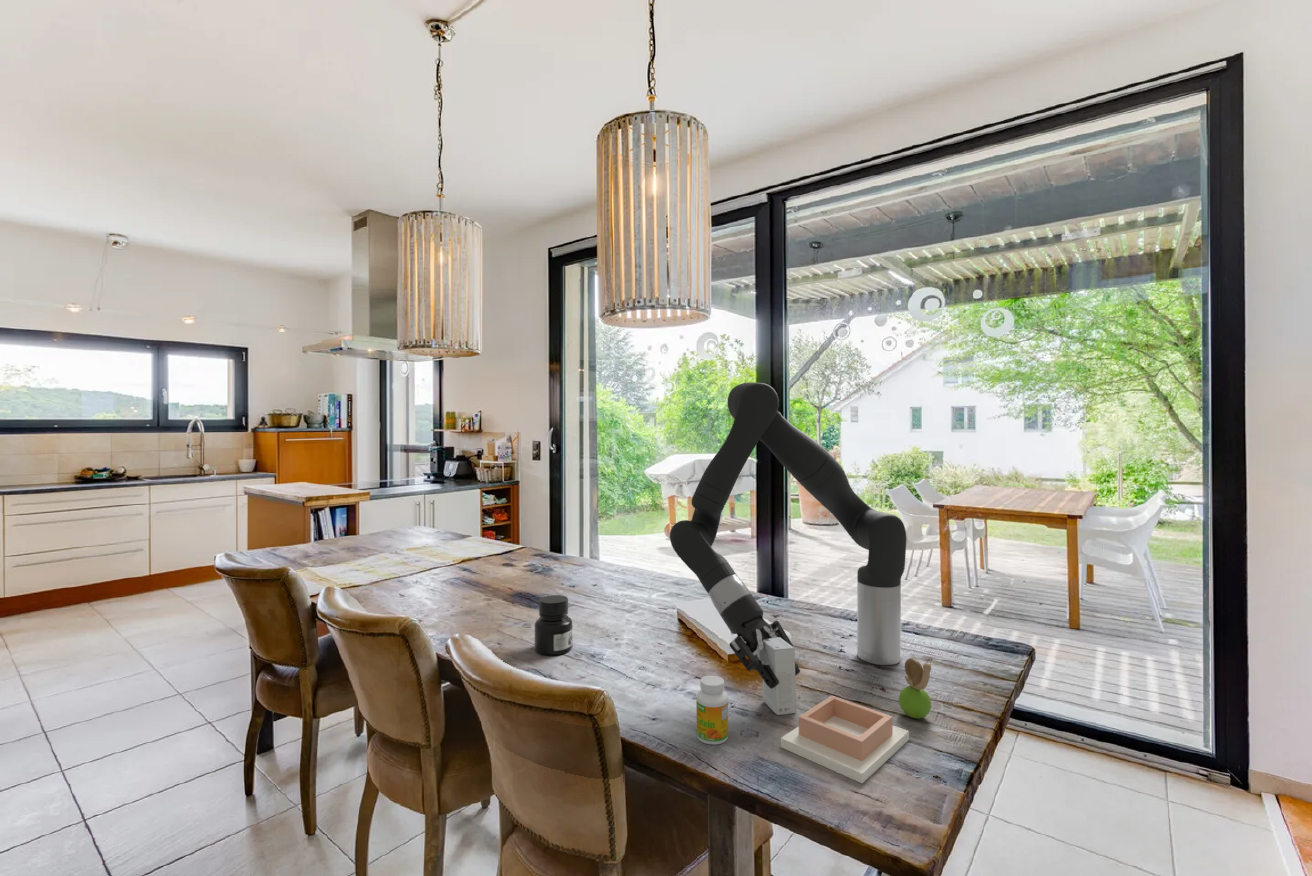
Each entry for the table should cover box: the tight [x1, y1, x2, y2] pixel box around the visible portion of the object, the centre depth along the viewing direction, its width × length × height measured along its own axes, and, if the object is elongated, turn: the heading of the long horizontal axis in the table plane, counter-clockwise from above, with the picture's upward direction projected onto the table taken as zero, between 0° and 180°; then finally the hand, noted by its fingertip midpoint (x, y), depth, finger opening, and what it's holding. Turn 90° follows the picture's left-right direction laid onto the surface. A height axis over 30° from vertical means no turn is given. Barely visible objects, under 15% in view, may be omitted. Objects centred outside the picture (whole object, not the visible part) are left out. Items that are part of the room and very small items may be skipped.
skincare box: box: [762, 637, 797, 716], centre depth 110 cm, size 6×4×12 cm
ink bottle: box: [534, 594, 574, 656], centre depth 139 cm, size 10×9×12 cm
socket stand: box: [780, 694, 910, 784], centre depth 97 cm, size 17×14×4 cm
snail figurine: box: [898, 657, 933, 720], centre depth 105 cm, size 5×6×12 cm
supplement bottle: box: [695, 675, 729, 746], centre depth 99 cm, size 5×5×10 cm
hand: (786, 680), depth 109 cm, fingers closed on skincare box, 6 cm apart
